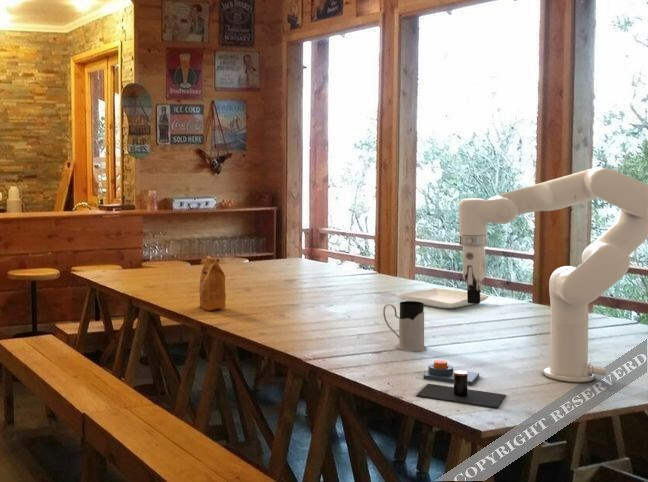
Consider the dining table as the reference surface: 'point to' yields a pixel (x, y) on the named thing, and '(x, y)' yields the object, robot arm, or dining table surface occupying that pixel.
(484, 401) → the desk pad
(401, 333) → the glass holder
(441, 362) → the button
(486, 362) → the dining table surface
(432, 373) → the grey button base
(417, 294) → the square plate
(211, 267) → the coffee package
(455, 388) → the battery
